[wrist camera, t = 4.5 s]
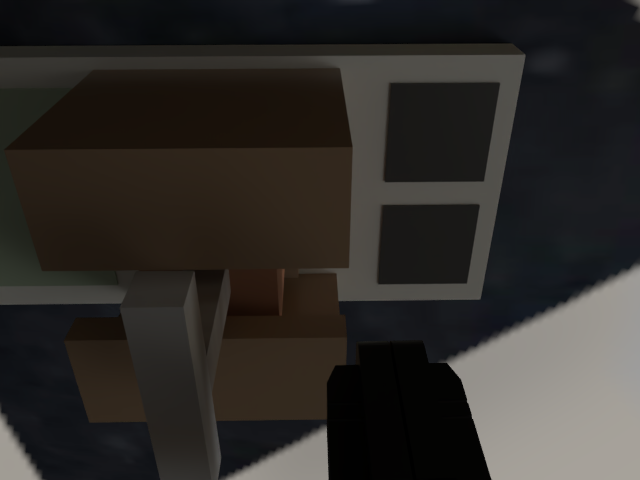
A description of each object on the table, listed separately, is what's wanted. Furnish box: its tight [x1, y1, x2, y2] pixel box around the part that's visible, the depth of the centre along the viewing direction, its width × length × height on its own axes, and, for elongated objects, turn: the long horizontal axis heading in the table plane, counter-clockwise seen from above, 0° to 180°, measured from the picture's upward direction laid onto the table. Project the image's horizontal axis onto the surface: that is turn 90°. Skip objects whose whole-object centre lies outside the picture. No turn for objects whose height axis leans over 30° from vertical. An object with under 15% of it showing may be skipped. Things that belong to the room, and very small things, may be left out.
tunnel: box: [0, 43, 525, 422], centre depth 19 cm, size 10×20×8 cm, turn 90°
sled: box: [120, 269, 299, 480], centre depth 17 cm, size 6×5×10 cm
